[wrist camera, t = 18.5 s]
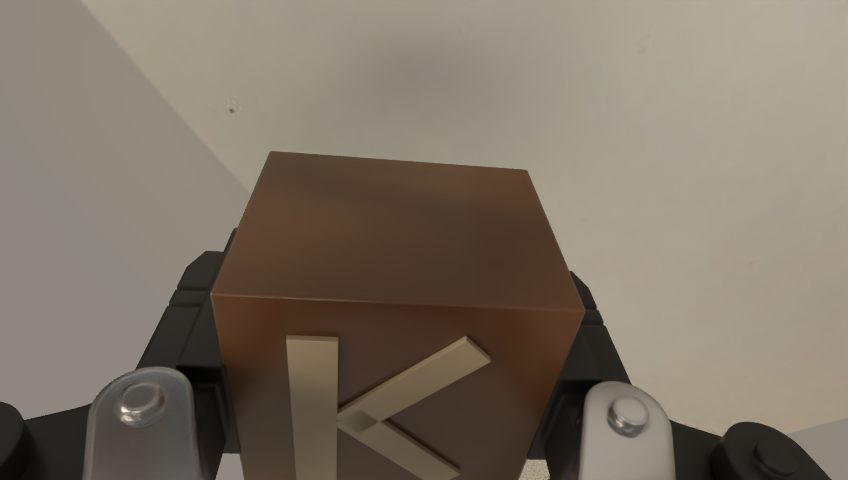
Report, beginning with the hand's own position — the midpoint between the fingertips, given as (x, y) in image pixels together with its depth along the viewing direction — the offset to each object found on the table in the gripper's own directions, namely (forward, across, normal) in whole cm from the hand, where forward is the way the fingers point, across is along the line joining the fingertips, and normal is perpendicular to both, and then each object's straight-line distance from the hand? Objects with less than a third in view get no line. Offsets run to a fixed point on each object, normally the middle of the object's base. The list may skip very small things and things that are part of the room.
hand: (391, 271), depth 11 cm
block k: (0, 0, 0) cm, 0 cm away
